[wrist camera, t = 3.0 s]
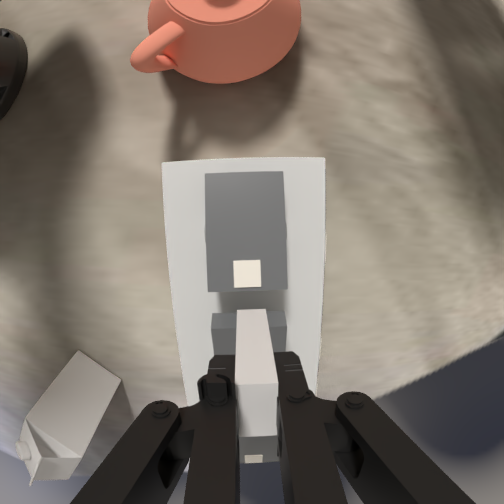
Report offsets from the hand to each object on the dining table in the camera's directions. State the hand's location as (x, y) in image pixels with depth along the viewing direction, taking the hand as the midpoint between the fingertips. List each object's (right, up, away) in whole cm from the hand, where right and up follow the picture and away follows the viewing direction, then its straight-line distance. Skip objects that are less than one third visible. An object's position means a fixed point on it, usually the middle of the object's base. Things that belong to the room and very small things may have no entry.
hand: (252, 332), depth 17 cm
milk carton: (-22, -13, +21) cm, 33 cm away
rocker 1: (-1, +6, +9) cm, 11 cm away
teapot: (-2, +29, +12) cm, 31 cm away
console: (0, -3, +19) cm, 19 cm away
